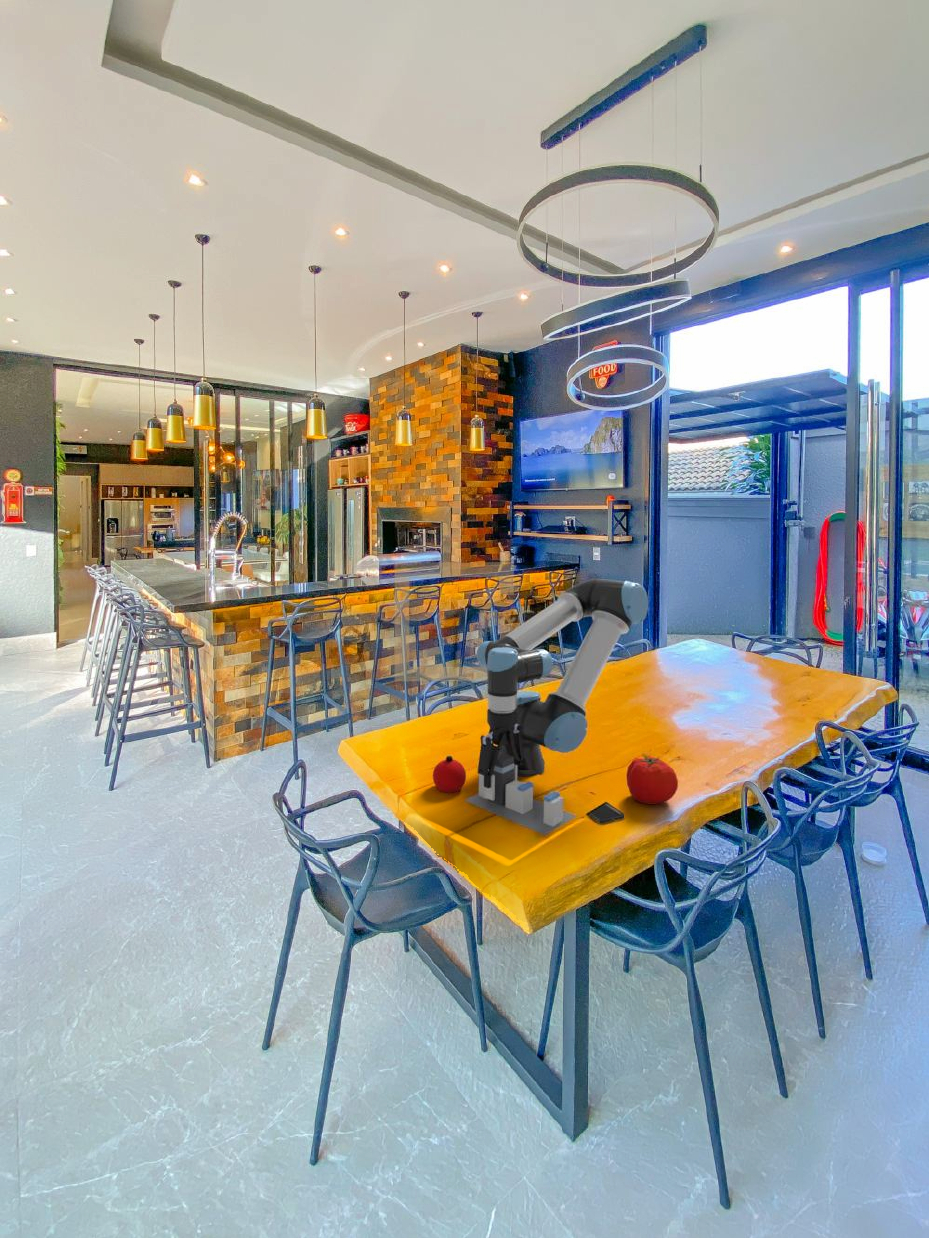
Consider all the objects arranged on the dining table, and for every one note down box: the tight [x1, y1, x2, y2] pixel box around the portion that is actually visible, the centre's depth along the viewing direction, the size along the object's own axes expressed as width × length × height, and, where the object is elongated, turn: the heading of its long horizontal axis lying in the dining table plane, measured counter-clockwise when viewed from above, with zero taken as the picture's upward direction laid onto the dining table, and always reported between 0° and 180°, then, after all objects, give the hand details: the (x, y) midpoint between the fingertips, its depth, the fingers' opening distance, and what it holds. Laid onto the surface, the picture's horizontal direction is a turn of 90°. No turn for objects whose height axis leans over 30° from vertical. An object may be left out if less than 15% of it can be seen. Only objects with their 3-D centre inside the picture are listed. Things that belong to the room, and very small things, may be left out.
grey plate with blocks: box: [464, 770, 577, 838], centre depth 162 cm, size 13×26×8 cm, turn 46°
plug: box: [489, 752, 514, 806], centre depth 166 cm, size 5×5×12 cm
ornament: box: [432, 755, 467, 794], centre depth 173 cm, size 9×9×10 cm
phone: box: [586, 791, 625, 824], centre depth 164 cm, size 8×1×15 cm
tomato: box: [626, 753, 679, 805], centre depth 168 cm, size 12×13×12 cm
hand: (501, 792), depth 166 cm, fingers open, 8 cm apart
